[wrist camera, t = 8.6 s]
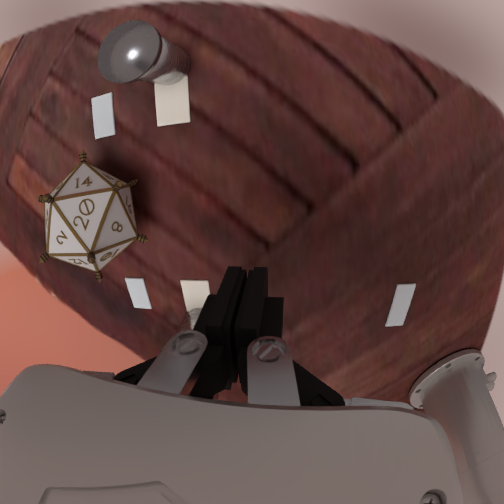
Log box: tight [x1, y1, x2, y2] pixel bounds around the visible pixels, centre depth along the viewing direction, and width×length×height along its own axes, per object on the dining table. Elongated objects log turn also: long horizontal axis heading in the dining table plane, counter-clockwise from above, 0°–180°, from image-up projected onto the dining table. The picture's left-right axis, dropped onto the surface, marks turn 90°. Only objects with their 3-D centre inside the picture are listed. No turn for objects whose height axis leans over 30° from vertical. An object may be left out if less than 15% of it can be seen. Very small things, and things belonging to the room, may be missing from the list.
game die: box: [37, 150, 149, 282], centre depth 17 cm, size 9×8×10 cm
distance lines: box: [92, 76, 416, 327], centre depth 21 cm, size 27×22×1 cm
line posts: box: [97, 20, 202, 332], centre depth 18 cm, size 4×26×7 cm, turn 3°
